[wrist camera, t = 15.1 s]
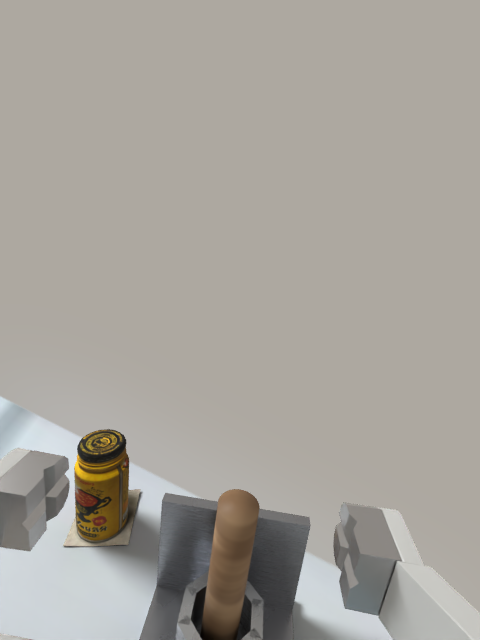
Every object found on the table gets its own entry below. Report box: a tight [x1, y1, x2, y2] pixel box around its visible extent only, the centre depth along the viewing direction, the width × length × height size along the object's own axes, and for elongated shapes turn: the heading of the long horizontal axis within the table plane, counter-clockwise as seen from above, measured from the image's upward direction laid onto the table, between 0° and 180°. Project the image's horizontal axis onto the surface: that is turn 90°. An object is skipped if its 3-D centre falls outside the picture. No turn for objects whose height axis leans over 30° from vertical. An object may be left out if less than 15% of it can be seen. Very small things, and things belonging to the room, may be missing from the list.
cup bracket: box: [139, 493, 310, 640], centre depth 29 cm, size 12×14×12 cm
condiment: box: [63, 429, 140, 546], centre depth 41 cm, size 7×8×12 cm
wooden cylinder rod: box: [200, 489, 259, 640], centre depth 28 cm, size 3×3×16 cm
